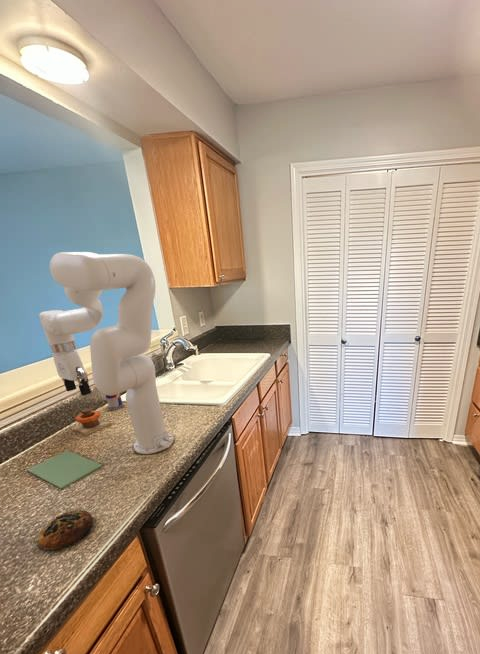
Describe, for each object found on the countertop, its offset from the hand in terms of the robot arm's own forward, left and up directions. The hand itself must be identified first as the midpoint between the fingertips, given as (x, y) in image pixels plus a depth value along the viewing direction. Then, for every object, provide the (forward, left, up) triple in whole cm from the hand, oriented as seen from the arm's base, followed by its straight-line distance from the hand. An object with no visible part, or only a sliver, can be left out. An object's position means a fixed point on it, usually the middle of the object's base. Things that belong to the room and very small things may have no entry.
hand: (79, 392), depth 120 cm
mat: (-21, +20, -15) cm, 32 cm away
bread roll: (-50, +34, -15) cm, 62 cm away
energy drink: (+8, -16, -15) cm, 23 cm away
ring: (-1, 0, -10) cm, 10 cm away
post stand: (-1, 0, -15) cm, 15 cm away
